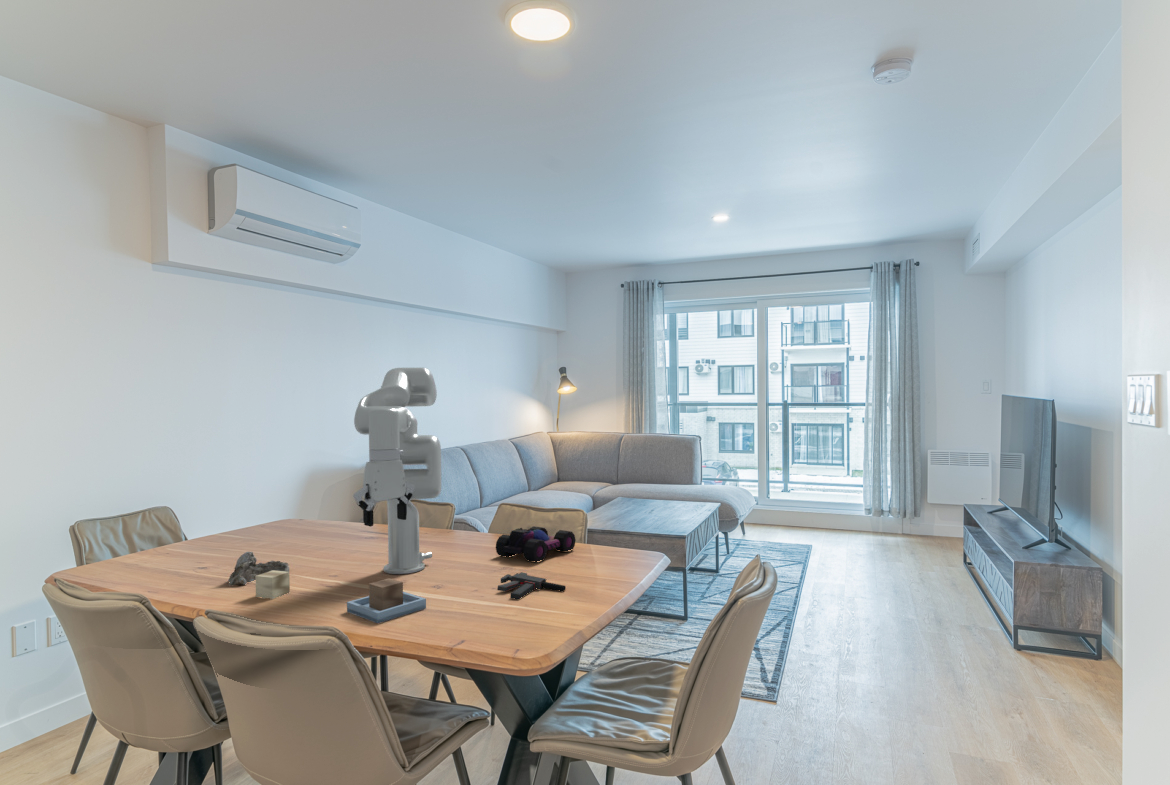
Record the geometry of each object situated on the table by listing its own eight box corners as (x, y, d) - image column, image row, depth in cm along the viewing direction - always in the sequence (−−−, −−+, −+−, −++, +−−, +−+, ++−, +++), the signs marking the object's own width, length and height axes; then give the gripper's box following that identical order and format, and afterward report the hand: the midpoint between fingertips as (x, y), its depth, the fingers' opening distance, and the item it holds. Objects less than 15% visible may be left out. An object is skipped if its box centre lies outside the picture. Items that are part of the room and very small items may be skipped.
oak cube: (273, 591, 183) (272, 570, 183) (289, 593, 181) (289, 571, 181) (255, 597, 178) (255, 575, 178) (272, 599, 176) (272, 577, 176)
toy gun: (545, 598, 169) (570, 580, 182) (484, 586, 176) (512, 569, 190) (545, 609, 169) (569, 590, 183) (484, 596, 176) (511, 579, 190)
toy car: (577, 550, 228) (577, 521, 228) (531, 566, 207) (530, 535, 207) (540, 544, 237) (540, 517, 237) (492, 559, 217) (492, 529, 217)
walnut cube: (389, 601, 169) (389, 578, 169) (403, 605, 166) (402, 582, 166) (369, 607, 165) (368, 583, 165) (382, 611, 161) (382, 587, 161)
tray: (394, 598, 175) (394, 588, 175) (426, 608, 166) (426, 598, 166) (347, 611, 164) (346, 602, 164) (378, 623, 155) (377, 613, 155)
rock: (234, 586, 187) (231, 552, 190) (221, 593, 193) (218, 560, 196) (296, 576, 200) (292, 545, 203) (281, 583, 206) (278, 552, 209)
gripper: (404, 452, 174) (405, 515, 175) (345, 458, 161) (346, 526, 161) (421, 453, 170) (422, 518, 170) (362, 460, 156) (363, 530, 156)
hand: (385, 522), depth 166 cm, fingers open, 9 cm apart
